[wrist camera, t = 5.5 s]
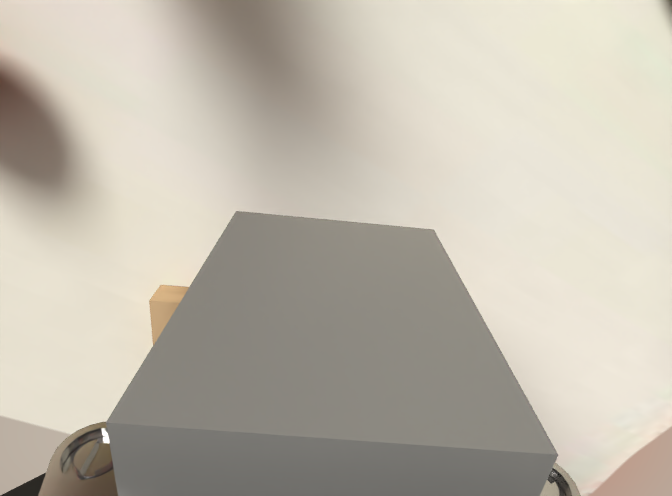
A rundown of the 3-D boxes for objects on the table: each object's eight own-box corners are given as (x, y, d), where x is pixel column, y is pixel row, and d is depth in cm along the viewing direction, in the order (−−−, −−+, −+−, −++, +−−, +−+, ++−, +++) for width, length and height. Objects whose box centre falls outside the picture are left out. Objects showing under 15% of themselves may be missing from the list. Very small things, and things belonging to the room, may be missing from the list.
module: (433, 229, 11) (557, 454, 5) (388, 442, 14) (429, 742, 8) (236, 211, 11) (106, 422, 5) (235, 432, 14) (157, 730, 8)
